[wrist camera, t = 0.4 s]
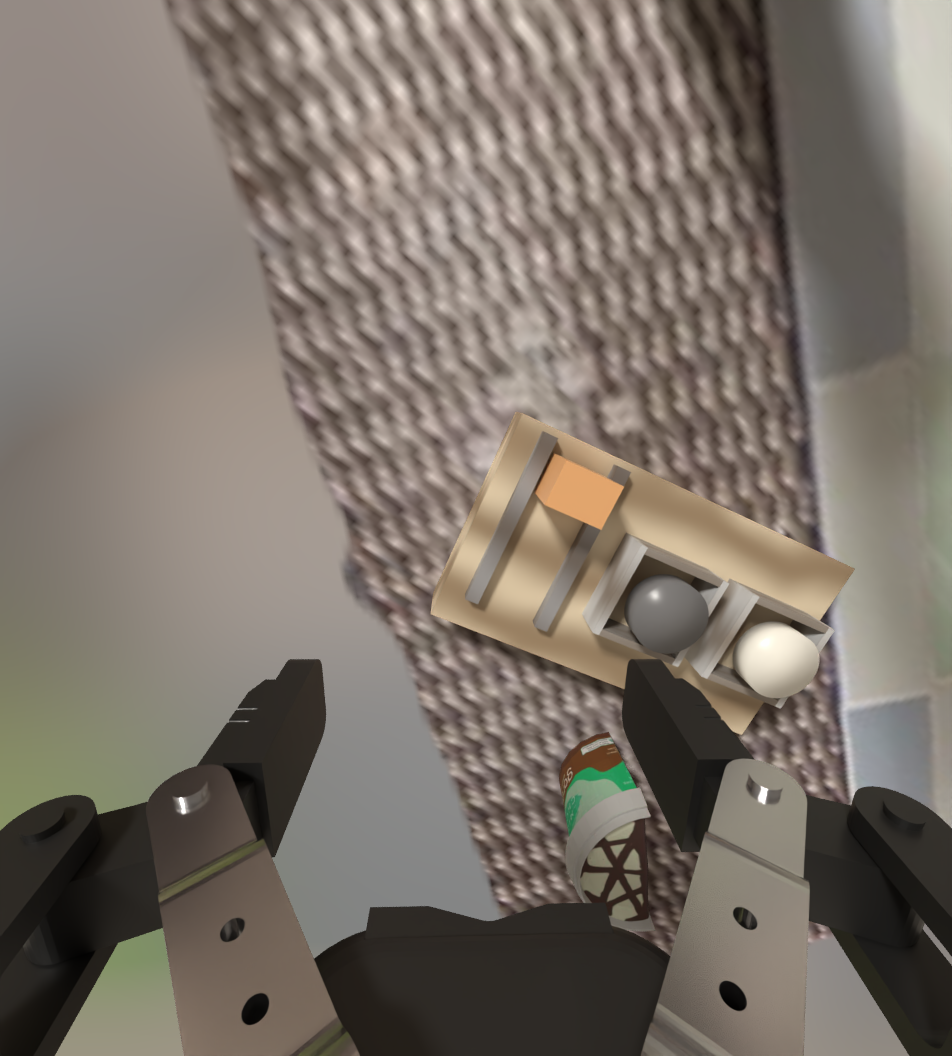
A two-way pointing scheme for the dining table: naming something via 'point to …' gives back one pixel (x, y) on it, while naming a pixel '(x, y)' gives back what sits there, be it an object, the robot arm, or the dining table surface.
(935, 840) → the robot arm
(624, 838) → the food container
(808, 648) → the cream button
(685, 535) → the board
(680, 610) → the charcoal button
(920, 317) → the dining table surface
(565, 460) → the slider knob
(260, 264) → the dining table surface
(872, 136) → the dining table surface
